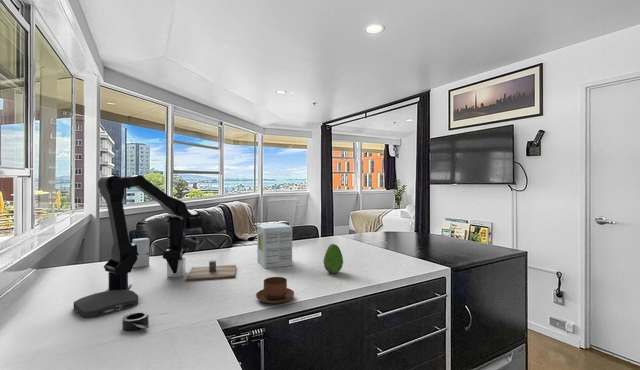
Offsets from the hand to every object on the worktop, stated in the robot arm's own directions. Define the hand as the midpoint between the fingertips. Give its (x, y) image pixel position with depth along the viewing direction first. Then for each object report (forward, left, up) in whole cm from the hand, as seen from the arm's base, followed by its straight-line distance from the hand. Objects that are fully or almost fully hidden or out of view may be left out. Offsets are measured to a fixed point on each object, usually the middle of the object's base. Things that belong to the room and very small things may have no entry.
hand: (176, 270), depth 126 cm
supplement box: (+8, -40, -2) cm, 41 cm away
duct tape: (-46, +1, -2) cm, 46 cm away
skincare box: (+18, +18, -2) cm, 26 cm away
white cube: (0, 0, -2) cm, 2 cm away
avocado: (-13, -62, -2) cm, 63 cm away
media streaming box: (-29, +14, -2) cm, 32 cm away
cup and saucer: (-36, -36, -2) cm, 51 cm away
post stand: (-2, -14, -2) cm, 14 cm away
